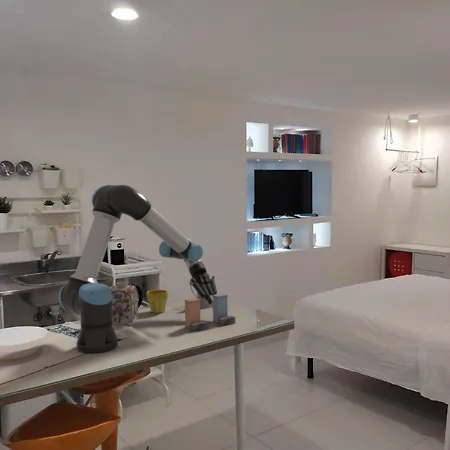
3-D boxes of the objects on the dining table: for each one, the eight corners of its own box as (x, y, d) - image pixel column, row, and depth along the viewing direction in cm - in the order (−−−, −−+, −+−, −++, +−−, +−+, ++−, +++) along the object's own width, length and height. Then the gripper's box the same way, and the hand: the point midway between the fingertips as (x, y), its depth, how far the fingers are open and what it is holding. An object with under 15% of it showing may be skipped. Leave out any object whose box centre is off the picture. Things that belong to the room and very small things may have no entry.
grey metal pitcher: (206, 309, 235) (205, 279, 234) (184, 305, 243) (184, 276, 242) (217, 305, 242) (216, 276, 240) (196, 301, 250) (195, 273, 249)
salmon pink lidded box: (190, 329, 197) (189, 301, 196) (185, 326, 201) (184, 299, 200) (200, 326, 200) (200, 299, 199) (195, 324, 204) (195, 297, 203)
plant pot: (147, 309, 237) (147, 289, 236) (168, 308, 238) (168, 289, 237) (146, 314, 226) (146, 294, 226) (168, 313, 227) (168, 293, 227)
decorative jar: (138, 318, 220) (137, 279, 219) (133, 325, 209) (131, 285, 207) (113, 318, 221) (111, 280, 219) (106, 325, 209) (104, 285, 208)
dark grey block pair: (188, 336, 192) (188, 326, 191) (172, 328, 203) (171, 319, 203) (240, 325, 206) (240, 316, 206) (222, 318, 218) (222, 309, 218)
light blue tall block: (218, 323, 205) (217, 296, 204) (212, 321, 209) (212, 294, 208) (228, 321, 208) (227, 294, 207) (222, 319, 212) (222, 293, 211)
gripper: (204, 270, 229) (225, 311, 217) (181, 273, 222) (200, 316, 209) (210, 260, 224) (231, 302, 212) (186, 263, 217) (207, 306, 205)
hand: (216, 309), depth 211 cm, fingers closed
